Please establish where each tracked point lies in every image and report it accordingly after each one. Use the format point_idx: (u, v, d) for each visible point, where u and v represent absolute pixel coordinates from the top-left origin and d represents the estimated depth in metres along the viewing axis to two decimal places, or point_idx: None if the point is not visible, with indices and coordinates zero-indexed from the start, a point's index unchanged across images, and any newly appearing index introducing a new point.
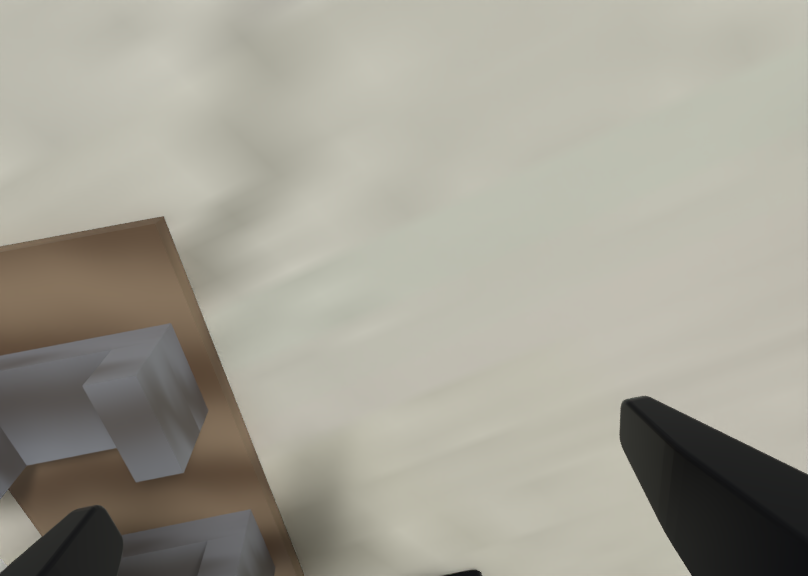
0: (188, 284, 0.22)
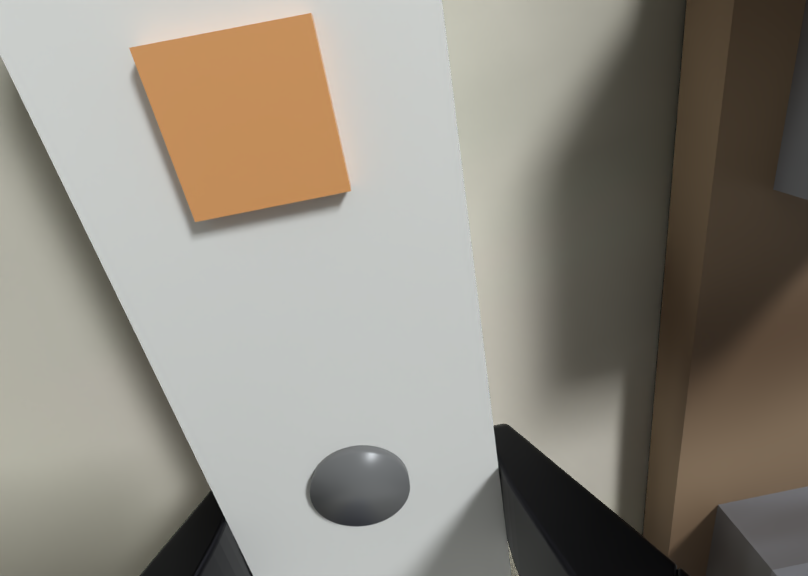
0: None
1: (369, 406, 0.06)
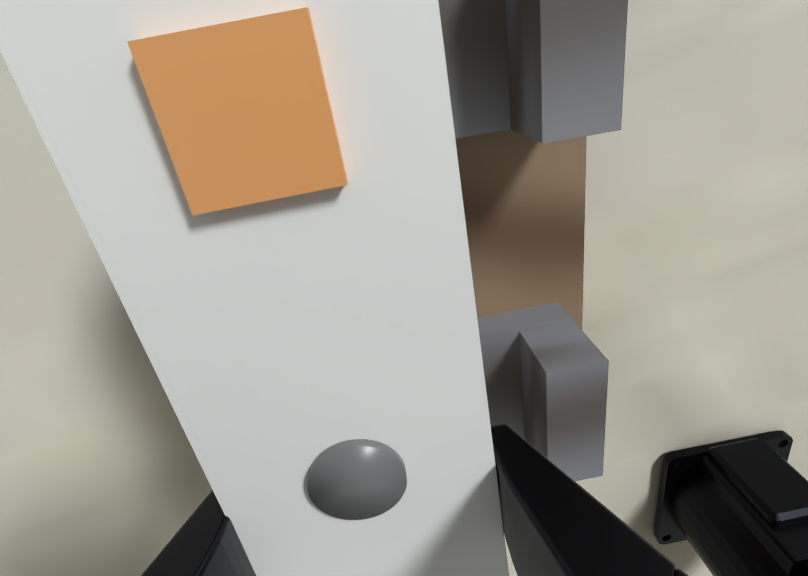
0: None
1: (366, 399, 0.06)
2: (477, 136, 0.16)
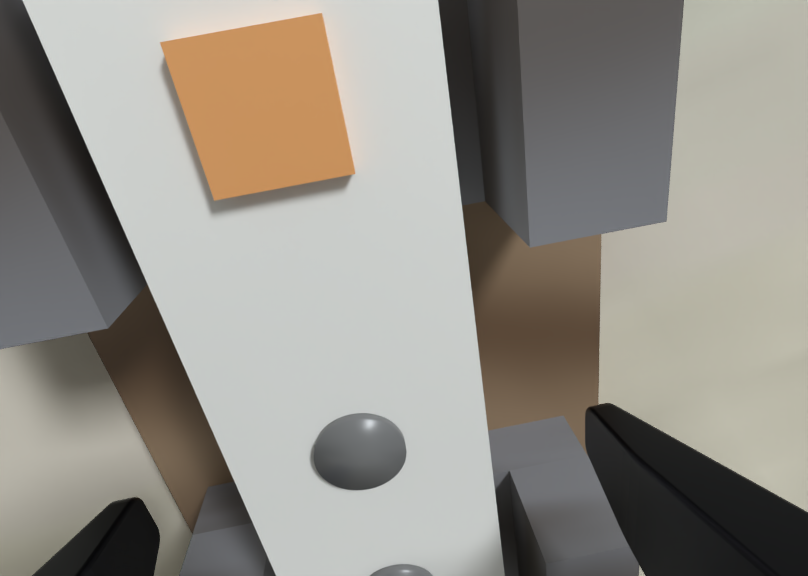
0: None
1: (369, 376, 0.07)
2: None
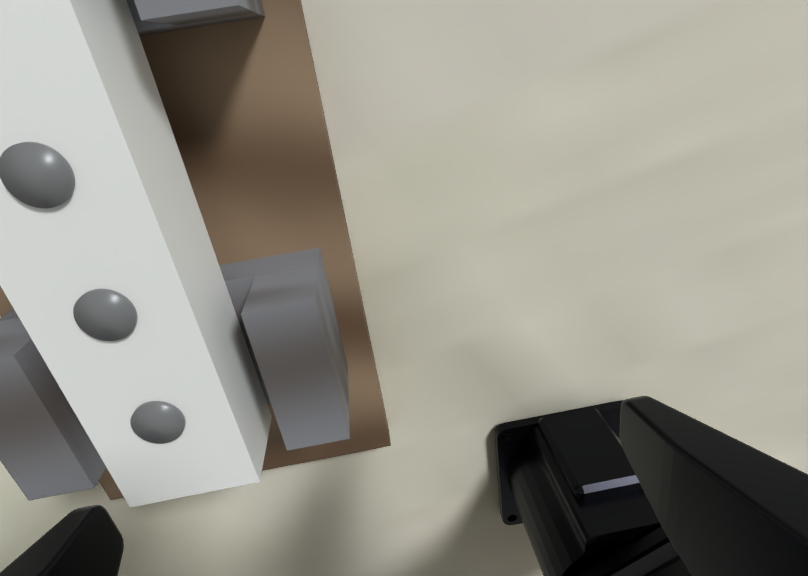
0: None
1: (28, 108, 0.10)
2: (174, 44, 0.14)
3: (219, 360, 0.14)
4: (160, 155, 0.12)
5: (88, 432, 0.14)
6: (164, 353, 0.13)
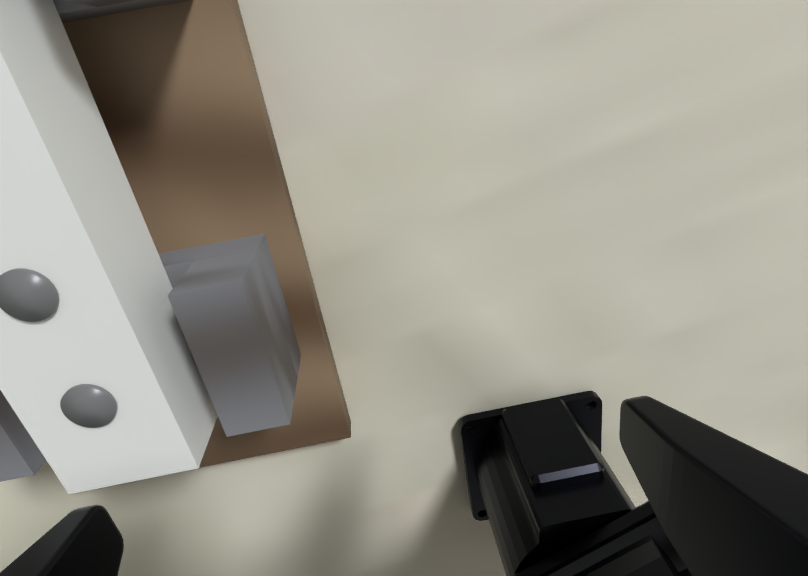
0: None
1: None
2: (104, 29, 0.14)
3: (149, 343, 0.14)
4: (81, 135, 0.12)
5: (20, 416, 0.14)
6: (89, 335, 0.13)
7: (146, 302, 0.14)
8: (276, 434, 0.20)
